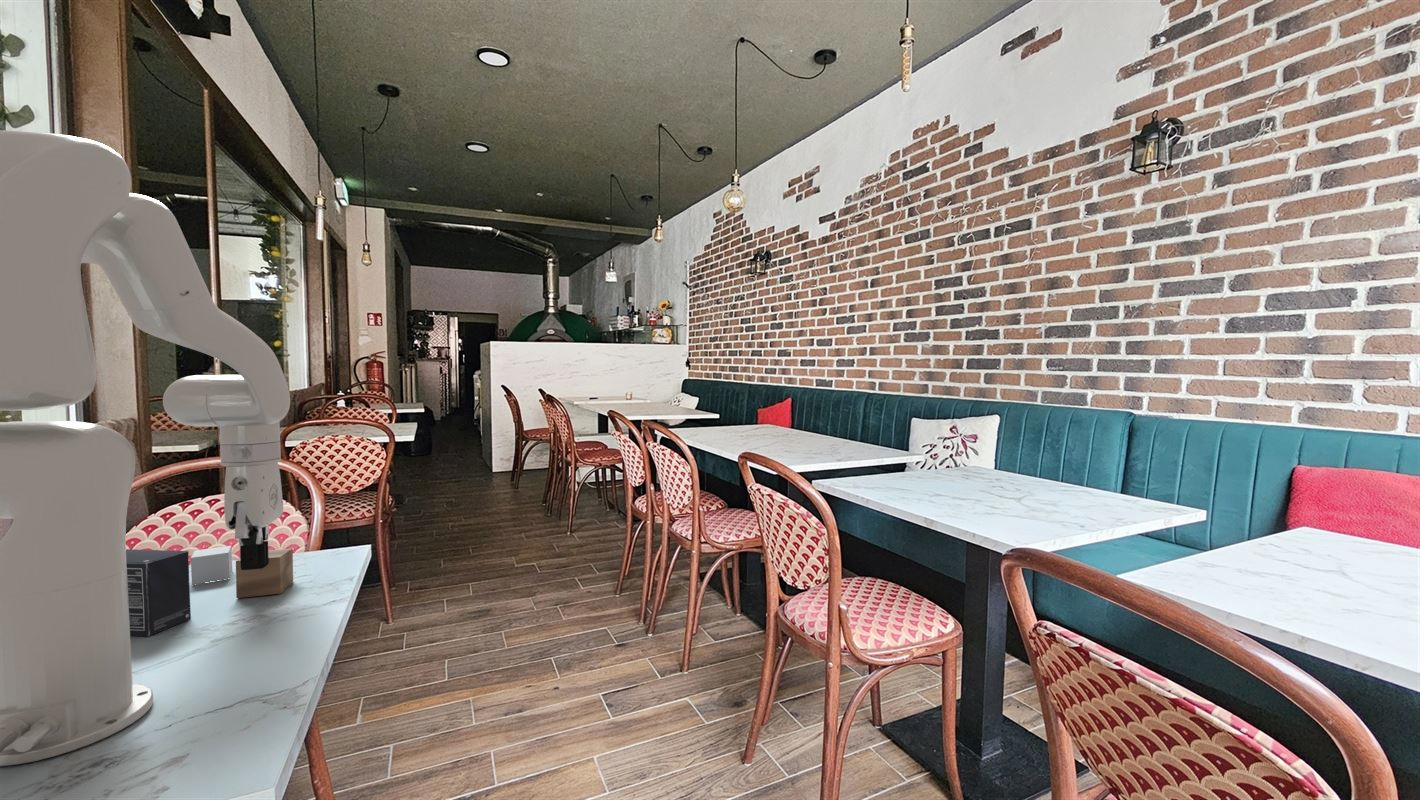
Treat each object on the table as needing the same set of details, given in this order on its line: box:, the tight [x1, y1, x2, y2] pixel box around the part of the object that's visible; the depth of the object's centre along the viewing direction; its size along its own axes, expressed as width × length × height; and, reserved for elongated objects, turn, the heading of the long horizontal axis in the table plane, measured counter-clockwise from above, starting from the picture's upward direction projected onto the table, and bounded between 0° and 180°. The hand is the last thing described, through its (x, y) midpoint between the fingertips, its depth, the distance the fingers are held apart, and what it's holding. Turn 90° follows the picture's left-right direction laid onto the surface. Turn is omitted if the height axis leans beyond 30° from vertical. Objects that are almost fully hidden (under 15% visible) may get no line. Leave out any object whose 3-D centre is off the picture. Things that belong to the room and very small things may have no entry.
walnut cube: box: [235, 547, 294, 599], centre depth 97 cm, size 6×6×6 cm
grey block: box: [190, 545, 233, 586], centre depth 103 cm, size 5×5×5 cm
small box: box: [126, 548, 192, 638], centre depth 83 cm, size 11×6×10 cm, turn 84°
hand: (254, 567), depth 93 cm, fingers closed
